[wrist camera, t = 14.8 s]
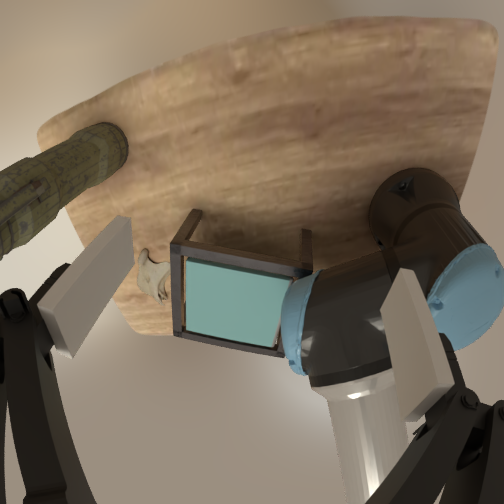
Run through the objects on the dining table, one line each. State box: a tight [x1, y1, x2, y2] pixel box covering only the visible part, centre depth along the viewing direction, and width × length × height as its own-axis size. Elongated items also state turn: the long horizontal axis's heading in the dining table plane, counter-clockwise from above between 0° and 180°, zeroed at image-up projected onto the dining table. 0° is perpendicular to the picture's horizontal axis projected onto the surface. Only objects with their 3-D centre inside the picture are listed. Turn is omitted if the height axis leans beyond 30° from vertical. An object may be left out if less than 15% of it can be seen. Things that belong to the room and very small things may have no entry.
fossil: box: [137, 249, 171, 306], centre depth 57 cm, size 7×11×3 cm, turn 165°
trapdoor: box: [186, 257, 293, 347], centre depth 46 cm, size 14×14×1 cm
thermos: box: [0, 122, 128, 261], centre depth 31 cm, size 9×12×35 cm
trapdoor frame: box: [170, 209, 313, 358], centre depth 50 cm, size 19×19×10 cm
